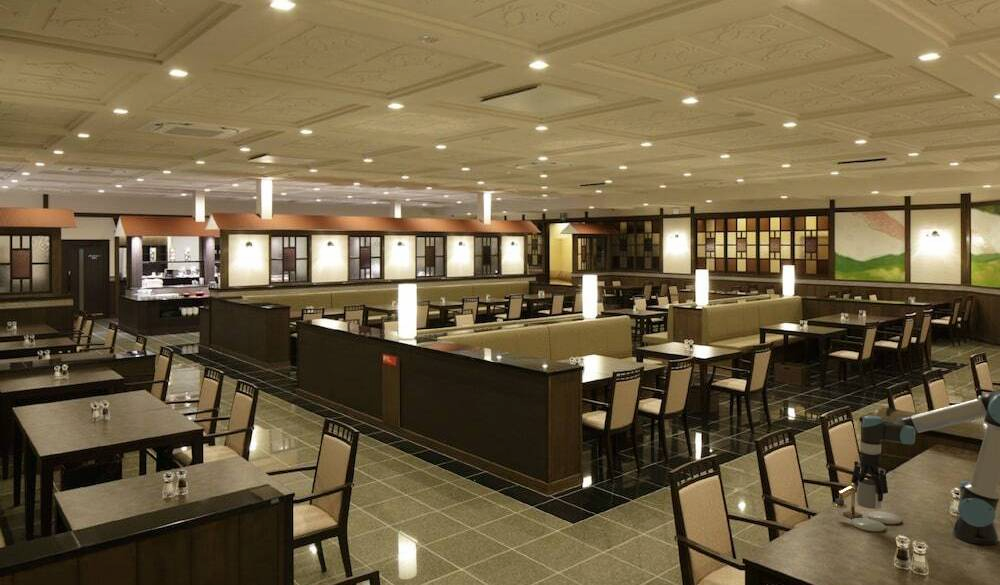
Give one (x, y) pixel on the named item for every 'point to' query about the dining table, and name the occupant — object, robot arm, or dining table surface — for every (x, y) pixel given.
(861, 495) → the cup
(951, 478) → the dining table surface
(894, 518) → the white dome
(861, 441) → the robot arm
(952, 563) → the dining table surface
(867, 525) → the dish green
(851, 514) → the balance
